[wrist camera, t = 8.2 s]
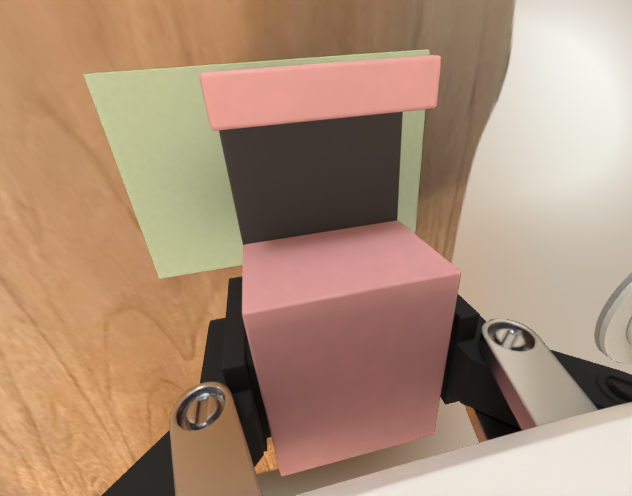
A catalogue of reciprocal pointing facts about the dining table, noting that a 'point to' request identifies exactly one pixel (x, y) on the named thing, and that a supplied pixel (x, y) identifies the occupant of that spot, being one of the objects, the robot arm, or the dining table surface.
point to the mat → (202, 160)
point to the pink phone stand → (334, 254)
